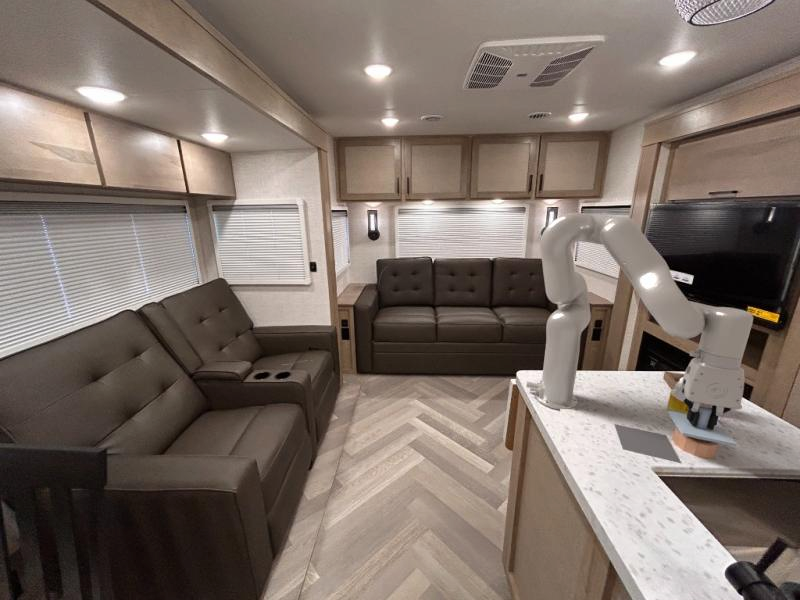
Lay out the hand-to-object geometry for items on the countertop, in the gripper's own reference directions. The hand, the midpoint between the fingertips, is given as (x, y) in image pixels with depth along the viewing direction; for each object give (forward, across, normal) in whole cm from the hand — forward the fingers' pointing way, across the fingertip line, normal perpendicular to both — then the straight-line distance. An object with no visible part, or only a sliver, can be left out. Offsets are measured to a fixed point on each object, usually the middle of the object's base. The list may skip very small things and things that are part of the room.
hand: (700, 424), depth 79 cm
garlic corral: (+8, +11, +37) cm, 39 cm away
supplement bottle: (+8, +2, +17) cm, 19 cm away
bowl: (+8, 0, 0) cm, 8 cm away
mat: (+7, -11, -3) cm, 14 cm away
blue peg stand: (+1, 0, 0) cm, 1 cm away
